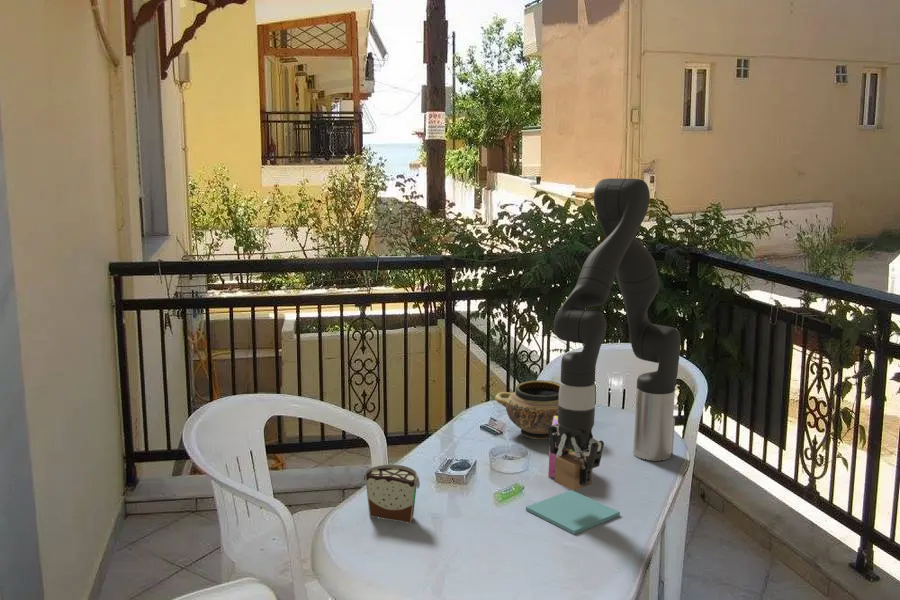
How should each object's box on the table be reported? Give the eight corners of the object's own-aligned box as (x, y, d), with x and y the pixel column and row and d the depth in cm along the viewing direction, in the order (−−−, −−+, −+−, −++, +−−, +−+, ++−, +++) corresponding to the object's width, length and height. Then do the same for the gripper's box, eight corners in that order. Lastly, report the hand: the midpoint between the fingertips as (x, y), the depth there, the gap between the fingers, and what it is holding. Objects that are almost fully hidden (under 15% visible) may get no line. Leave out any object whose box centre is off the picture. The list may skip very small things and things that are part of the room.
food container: (428, 512, 181) (428, 468, 179) (417, 525, 175) (417, 479, 173) (375, 503, 185) (374, 460, 183) (363, 515, 179) (362, 470, 177)
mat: (571, 493, 191) (571, 489, 191) (619, 515, 180) (619, 511, 180) (525, 510, 182) (525, 506, 182) (573, 534, 171) (574, 530, 171)
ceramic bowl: (486, 443, 228) (481, 395, 222) (511, 408, 242) (508, 362, 236) (574, 460, 217) (571, 410, 211) (595, 423, 231) (593, 375, 225)
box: (572, 479, 198) (574, 431, 196) (548, 477, 199) (549, 429, 197) (575, 462, 208) (577, 416, 206) (551, 460, 209) (553, 415, 207)
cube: (572, 475, 183) (573, 451, 182) (591, 484, 179) (593, 459, 178) (554, 482, 180) (555, 457, 179) (573, 490, 176) (574, 465, 175)
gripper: (615, 408, 173) (611, 486, 176) (564, 391, 184) (561, 465, 187) (590, 415, 168) (586, 495, 172) (539, 397, 179) (536, 473, 183)
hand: (573, 479), depth 180 cm, fingers closed on cube, 5 cm apart
